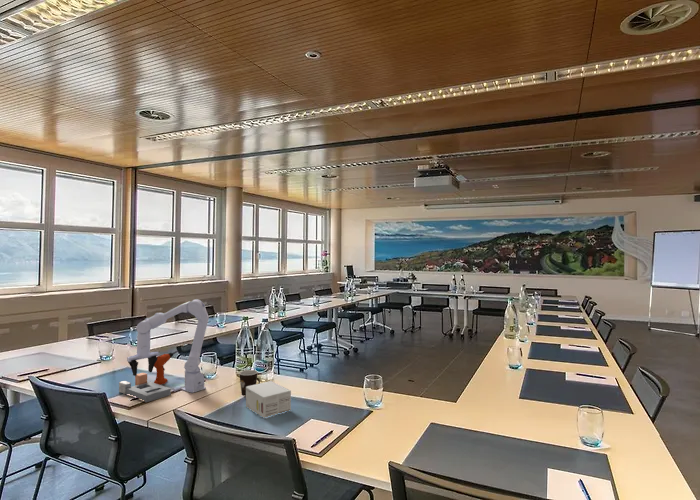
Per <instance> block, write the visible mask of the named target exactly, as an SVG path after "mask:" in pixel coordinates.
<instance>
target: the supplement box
mask: <svg viewBox="0 0 700 500" xmlns="http://www.w3.org/2000/svg"><path fill="white" fill-rule="evenodd" d="M247 407H248V408H249V409H248V408H247ZM245 408H247V409H248V410H250V409H251V410H252V411H251V410H250V411H251V412H253V411H254V412H256V413H257V414H259V415H260V416H262V417H264V418H265V417H268V416H271V415H275V414H278V413H282V412H285V411H289V410H291V411H292V390H290V389H288V388H286V387H284V386H282V385H280V384H278V383H276V382H275V381H272V380H269V381H264V382H260V384H258V383H256V384H255V385H251V386H247V387H246V396H245ZM254 412H253V413H254ZM256 413H255V414H256ZM257 414H256V415H257ZM259 415H258V416H259ZM260 416H259V417H260ZM262 417H261V418H262Z"/></svg>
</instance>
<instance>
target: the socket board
mask: <svg viewBox="0 0 700 500" xmlns="http://www.w3.org/2000/svg"><path fill="white" fill-rule="evenodd" d="M126 394H130V395H133V396H136V397H138V398H140V399H142V400H144V401H145V402H144V401H143V402H144V403H148V402H153V401H155V400H158V399H162V398H165V397H169V396H171V395H172V389H171V388H170V387H168V386H164V385H163V384H162V385H159V384H156V383H154V381H147V383H143V384H140V385H136V386H135V385H133V386H132V385H131V387H129V388H126Z"/></svg>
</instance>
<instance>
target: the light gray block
mask: <svg viewBox="0 0 700 500" xmlns="http://www.w3.org/2000/svg"><path fill="white" fill-rule="evenodd" d="M129 387H132V383H131V382H129V381H127V380H122V381H119V382H118V393H121V394H122V393H123V395H125V394H126V388H129Z"/></svg>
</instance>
